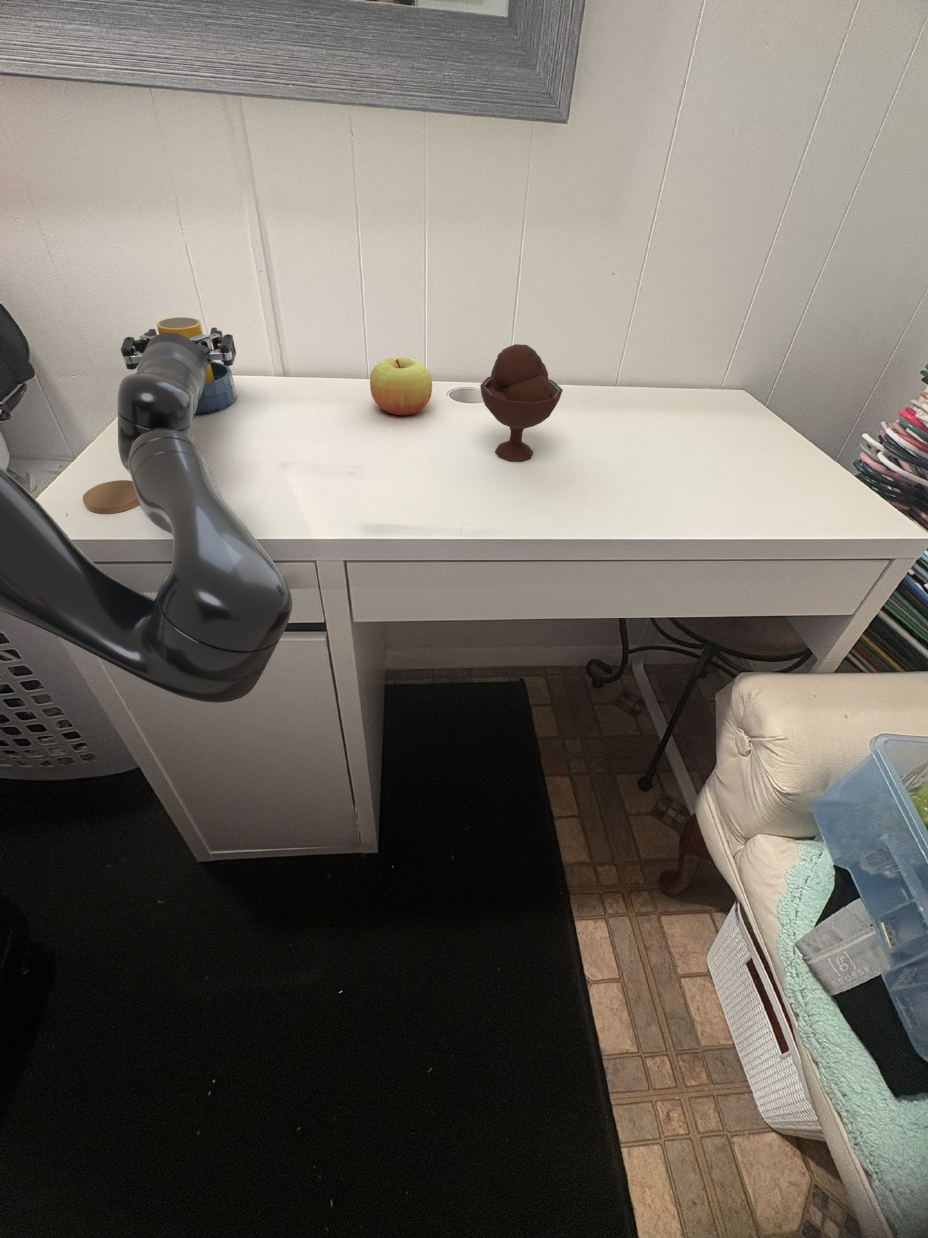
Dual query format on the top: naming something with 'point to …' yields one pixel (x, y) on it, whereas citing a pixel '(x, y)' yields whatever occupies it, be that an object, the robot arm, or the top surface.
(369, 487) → the top surface
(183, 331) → the cup
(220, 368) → the bowl
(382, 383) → the apple
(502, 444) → the ice cream bowl
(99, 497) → the coaster
